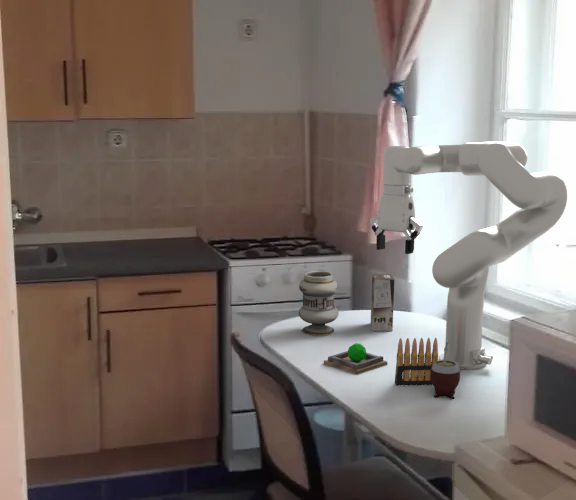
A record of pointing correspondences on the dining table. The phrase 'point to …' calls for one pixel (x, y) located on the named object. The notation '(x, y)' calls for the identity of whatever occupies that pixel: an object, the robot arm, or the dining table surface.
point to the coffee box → (382, 302)
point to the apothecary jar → (318, 302)
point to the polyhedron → (357, 352)
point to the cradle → (355, 367)
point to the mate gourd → (445, 377)
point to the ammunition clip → (415, 363)
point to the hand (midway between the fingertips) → (394, 251)
